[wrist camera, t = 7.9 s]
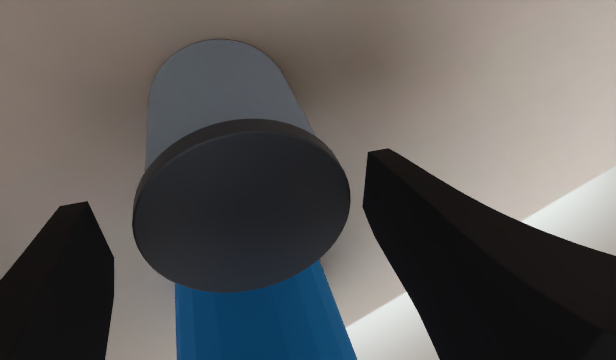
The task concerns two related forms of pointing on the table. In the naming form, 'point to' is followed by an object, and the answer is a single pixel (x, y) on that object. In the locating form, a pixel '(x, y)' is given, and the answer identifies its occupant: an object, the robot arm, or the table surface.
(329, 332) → the bottle
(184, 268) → the plastic tub
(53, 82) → the table surface
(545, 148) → the table surface
